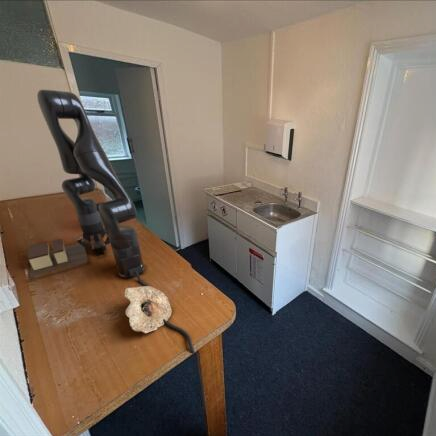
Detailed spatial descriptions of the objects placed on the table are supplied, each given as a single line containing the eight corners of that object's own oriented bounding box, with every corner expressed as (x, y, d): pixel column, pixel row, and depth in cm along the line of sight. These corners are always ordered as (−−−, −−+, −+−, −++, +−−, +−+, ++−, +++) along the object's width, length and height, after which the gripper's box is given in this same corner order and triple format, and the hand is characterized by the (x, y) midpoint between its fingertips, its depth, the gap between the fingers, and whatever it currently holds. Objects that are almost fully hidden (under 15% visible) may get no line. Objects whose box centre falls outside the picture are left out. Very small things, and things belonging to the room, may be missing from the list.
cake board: (89, 263, 104) (88, 261, 104) (31, 280, 93) (30, 277, 92) (84, 245, 117) (83, 242, 116) (32, 257, 105) (31, 254, 105)
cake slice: (67, 261, 102) (63, 249, 100) (57, 263, 100) (52, 252, 98) (65, 249, 110) (61, 238, 108) (56, 251, 108) (52, 240, 106)
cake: (52, 265, 99) (47, 253, 97) (33, 270, 96) (28, 258, 93) (51, 252, 107) (47, 241, 104) (34, 257, 103) (29, 245, 101)
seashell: (175, 330, 84) (181, 318, 81) (128, 349, 73) (133, 336, 69) (158, 290, 92) (163, 278, 89) (114, 302, 81) (118, 288, 78)
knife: (105, 256, 110) (101, 245, 107) (99, 258, 108) (95, 246, 106) (98, 238, 123) (95, 228, 120) (92, 240, 122) (89, 229, 119)
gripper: (70, 228, 98) (82, 262, 105) (110, 220, 107) (119, 251, 114) (69, 221, 103) (81, 254, 110) (107, 214, 112) (116, 245, 119)
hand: (100, 253), depth 112 cm, fingers closed on knife, 2 cm apart
